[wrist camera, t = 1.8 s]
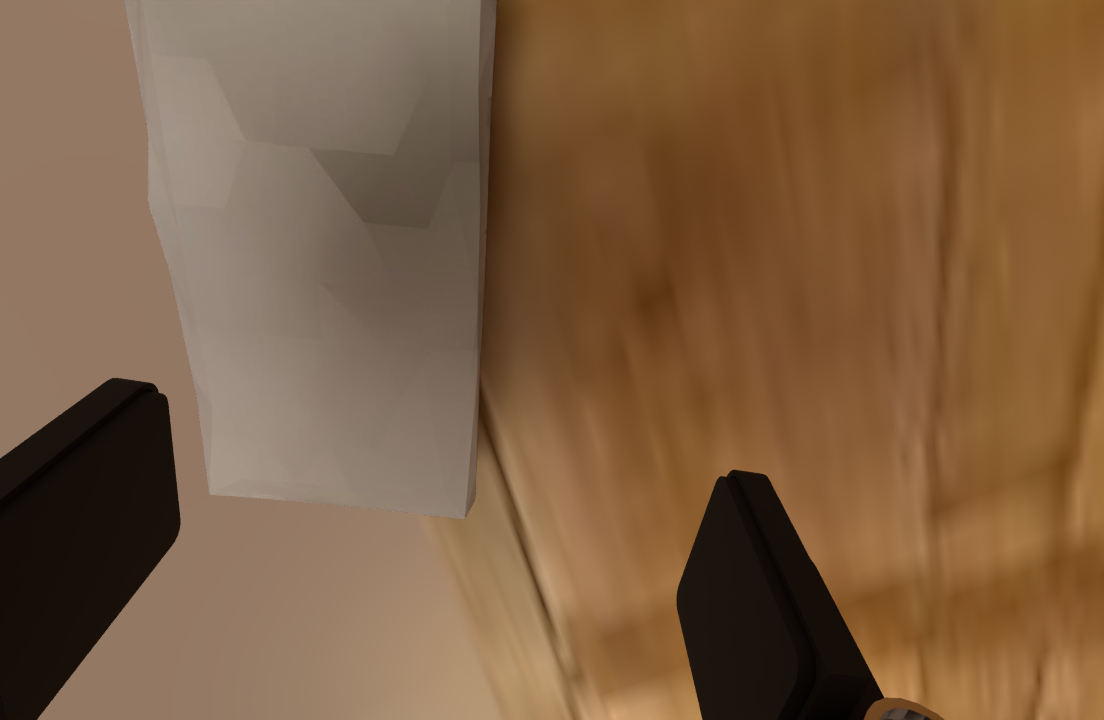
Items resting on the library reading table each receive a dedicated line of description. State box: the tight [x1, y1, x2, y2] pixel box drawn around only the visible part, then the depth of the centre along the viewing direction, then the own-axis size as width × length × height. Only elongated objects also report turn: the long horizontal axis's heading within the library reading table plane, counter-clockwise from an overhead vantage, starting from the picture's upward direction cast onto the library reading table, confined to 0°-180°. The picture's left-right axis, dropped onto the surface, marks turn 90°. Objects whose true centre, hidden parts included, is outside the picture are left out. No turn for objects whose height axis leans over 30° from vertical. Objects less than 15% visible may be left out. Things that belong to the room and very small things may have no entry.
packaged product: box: [125, 0, 497, 519], centre depth 21 cm, size 18×5×10 cm
